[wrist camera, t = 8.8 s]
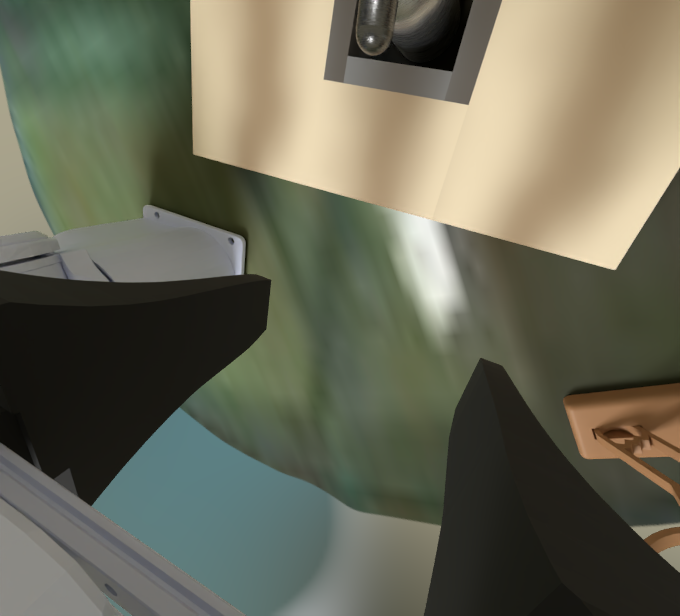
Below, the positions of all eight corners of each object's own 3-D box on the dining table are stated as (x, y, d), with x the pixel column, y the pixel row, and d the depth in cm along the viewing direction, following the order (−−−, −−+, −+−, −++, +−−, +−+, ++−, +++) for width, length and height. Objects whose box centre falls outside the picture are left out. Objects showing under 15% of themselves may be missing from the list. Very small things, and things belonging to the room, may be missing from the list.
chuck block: (227, 155, 22) (193, 154, 19) (238, -242, 14) (184, -329, 12) (595, 253, 16) (614, 270, 14) (932, -325, 9) (1118, -530, 6)
